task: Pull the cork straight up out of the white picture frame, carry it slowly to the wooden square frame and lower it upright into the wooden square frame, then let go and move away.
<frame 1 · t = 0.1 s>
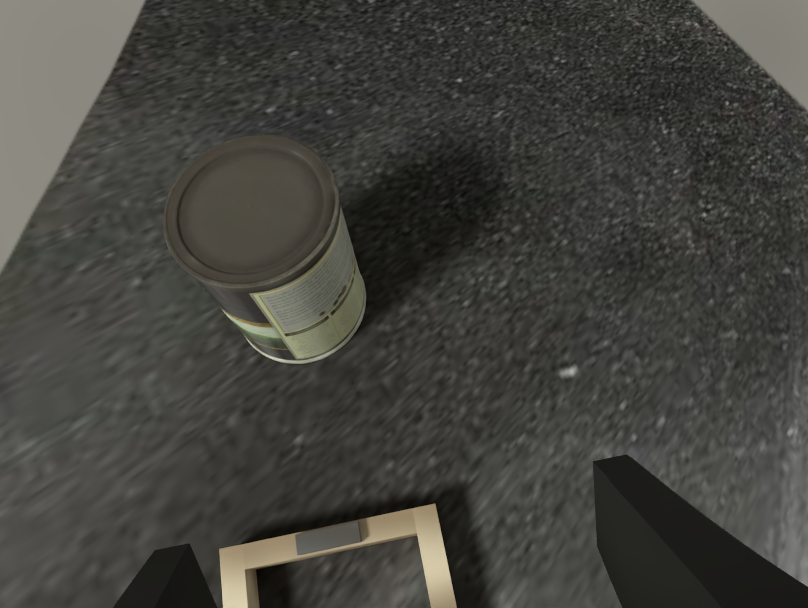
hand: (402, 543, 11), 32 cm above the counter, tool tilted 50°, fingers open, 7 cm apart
coffee can: (303, 304, 48), on the counter
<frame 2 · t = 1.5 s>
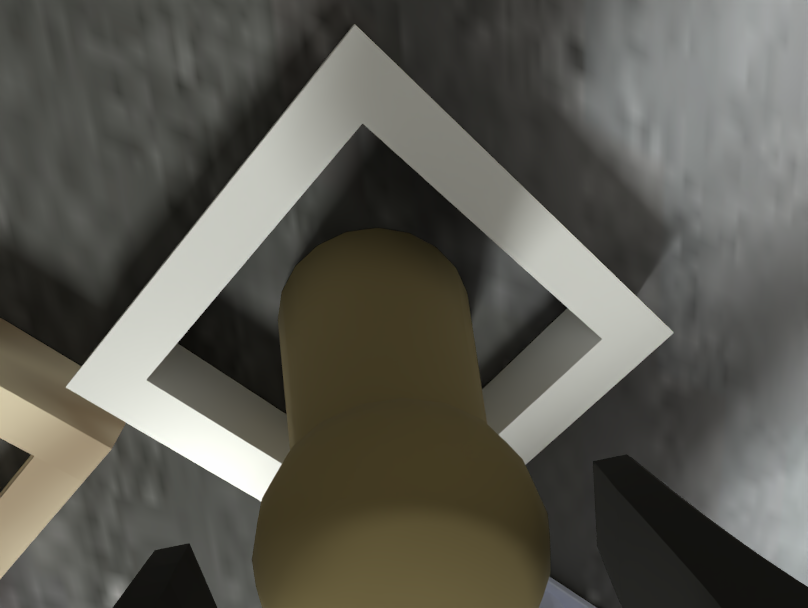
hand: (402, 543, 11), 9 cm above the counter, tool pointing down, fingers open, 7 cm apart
cork: (374, 317, 20), resting in white picture frame
white picture frame: (375, 320, 19), on the counter
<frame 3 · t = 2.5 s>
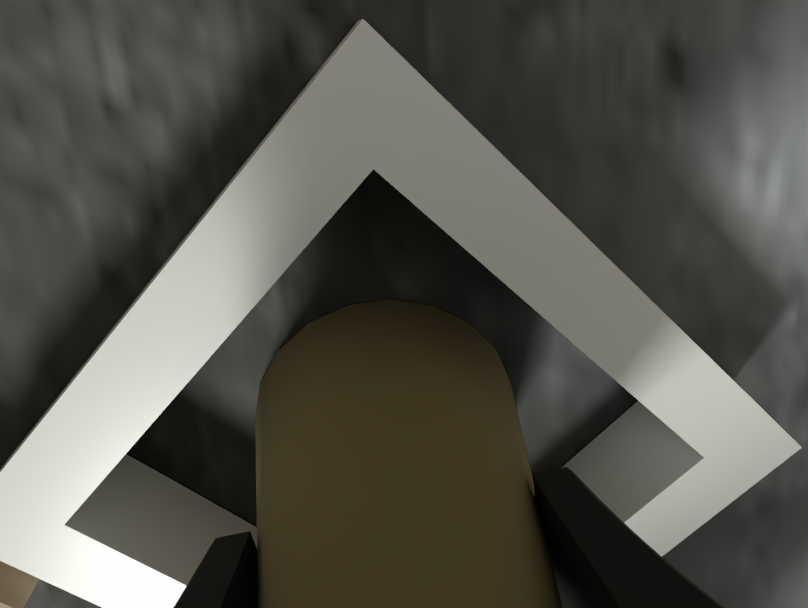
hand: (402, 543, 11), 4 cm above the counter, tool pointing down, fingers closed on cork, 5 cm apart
cork: (385, 411, 15), resting in white picture frame, touching gripper
white picture frame: (386, 417, 14), on the counter
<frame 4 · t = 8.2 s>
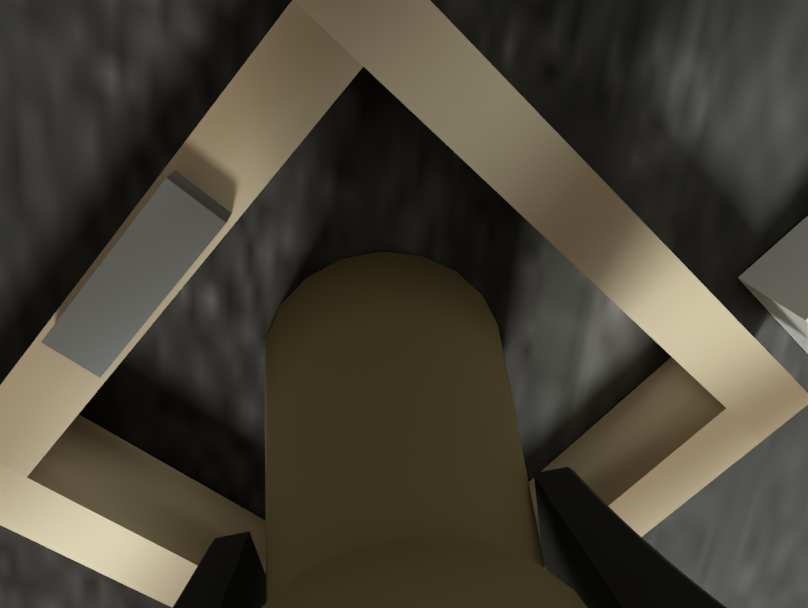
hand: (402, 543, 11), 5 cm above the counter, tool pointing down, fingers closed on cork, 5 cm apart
cork: (384, 359, 16), resting in wooden square frame, touching gripper
wooden square frame: (382, 382, 16), on the counter
when the fingers open (5 cm above the counter, at t = 8.9 s): cork stays where it is, resting in wooden square frame.
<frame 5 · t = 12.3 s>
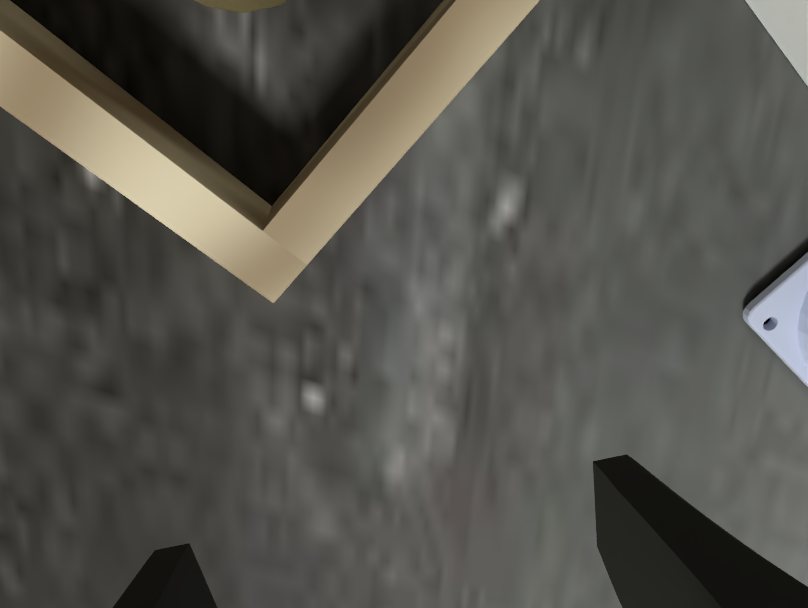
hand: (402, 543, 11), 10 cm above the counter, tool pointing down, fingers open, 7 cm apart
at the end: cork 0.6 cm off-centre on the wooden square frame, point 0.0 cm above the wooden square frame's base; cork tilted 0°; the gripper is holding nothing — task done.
